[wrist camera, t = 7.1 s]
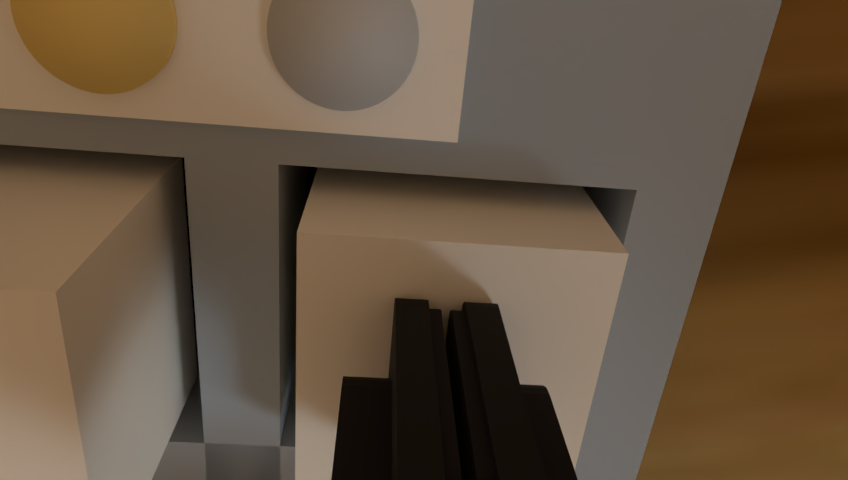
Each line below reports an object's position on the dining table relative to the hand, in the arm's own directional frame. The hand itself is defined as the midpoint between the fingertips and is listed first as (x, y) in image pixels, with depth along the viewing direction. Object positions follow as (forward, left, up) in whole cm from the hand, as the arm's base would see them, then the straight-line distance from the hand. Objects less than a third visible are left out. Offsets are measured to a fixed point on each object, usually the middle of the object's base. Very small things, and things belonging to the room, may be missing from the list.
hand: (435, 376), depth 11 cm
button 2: (0, 0, -5) cm, 5 cm away
